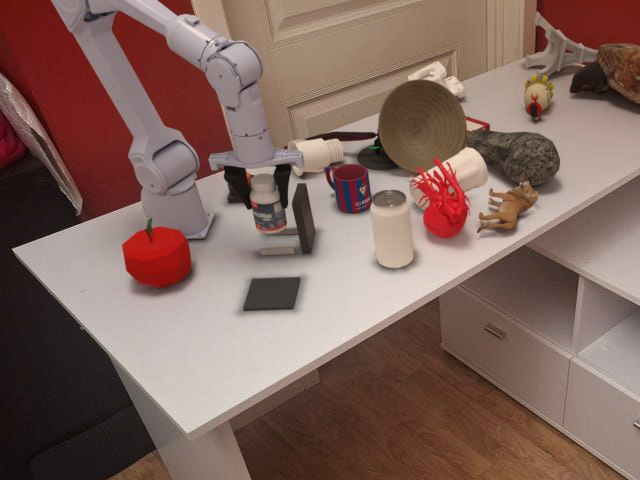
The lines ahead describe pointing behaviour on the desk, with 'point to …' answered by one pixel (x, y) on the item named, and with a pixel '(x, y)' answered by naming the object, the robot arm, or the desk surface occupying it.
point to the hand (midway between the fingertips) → (268, 206)
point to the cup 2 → (467, 174)
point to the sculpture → (611, 72)
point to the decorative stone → (517, 154)
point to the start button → (248, 178)
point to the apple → (157, 256)
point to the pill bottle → (267, 204)
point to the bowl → (421, 124)
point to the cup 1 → (350, 187)
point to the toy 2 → (537, 95)
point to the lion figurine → (509, 206)
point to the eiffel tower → (558, 51)
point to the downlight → (317, 153)
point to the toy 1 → (343, 136)
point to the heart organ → (443, 202)
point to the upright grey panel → (297, 224)
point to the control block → (236, 194)
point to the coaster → (272, 293)
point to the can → (392, 228)
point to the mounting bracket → (436, 74)
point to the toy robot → (376, 157)
